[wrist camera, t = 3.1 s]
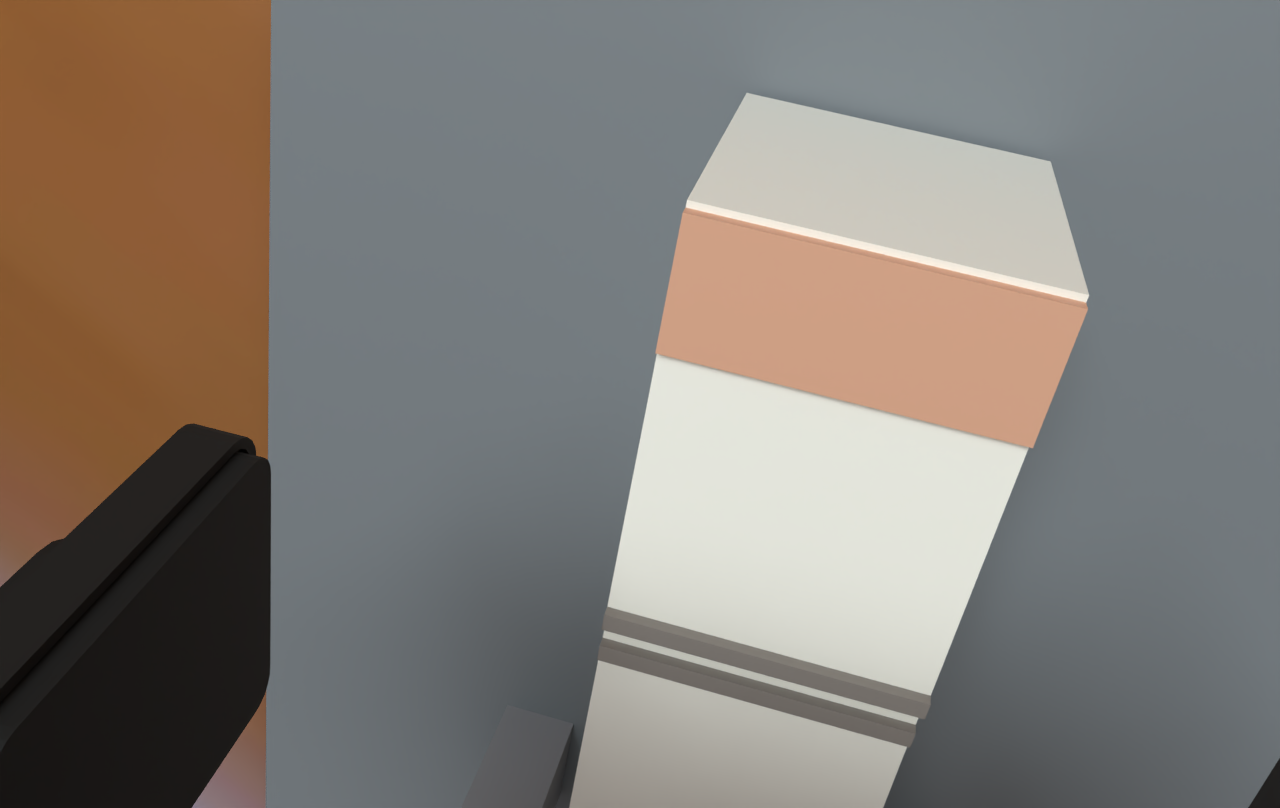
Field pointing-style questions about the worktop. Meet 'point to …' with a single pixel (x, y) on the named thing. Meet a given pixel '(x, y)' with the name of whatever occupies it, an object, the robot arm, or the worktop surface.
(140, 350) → the worktop surface
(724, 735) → the grey board with blocks
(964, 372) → the white and peach box
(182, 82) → the worktop surface
